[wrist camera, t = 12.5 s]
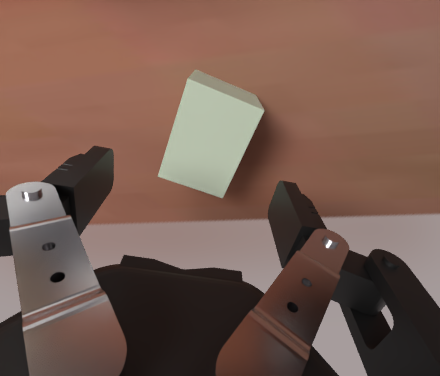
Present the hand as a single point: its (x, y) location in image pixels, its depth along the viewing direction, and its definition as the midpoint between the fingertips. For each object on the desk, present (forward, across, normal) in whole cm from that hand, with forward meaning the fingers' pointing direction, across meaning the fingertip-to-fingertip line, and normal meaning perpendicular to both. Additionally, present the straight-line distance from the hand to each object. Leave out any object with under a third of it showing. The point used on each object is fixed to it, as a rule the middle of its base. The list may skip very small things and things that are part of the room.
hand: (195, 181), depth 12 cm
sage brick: (+10, 0, 0) cm, 10 cm away
